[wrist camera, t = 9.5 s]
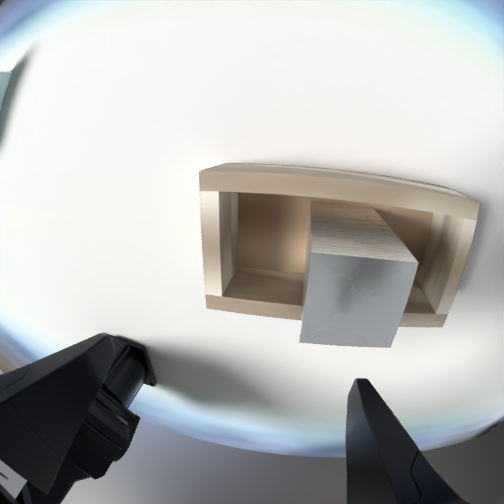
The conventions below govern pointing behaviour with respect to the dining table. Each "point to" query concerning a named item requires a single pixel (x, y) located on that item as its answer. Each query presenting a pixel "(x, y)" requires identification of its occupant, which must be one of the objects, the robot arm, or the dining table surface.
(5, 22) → the dining table surface
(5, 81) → the l-shaped corner panel
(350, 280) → the light grey rectangular block
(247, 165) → the beige tray
